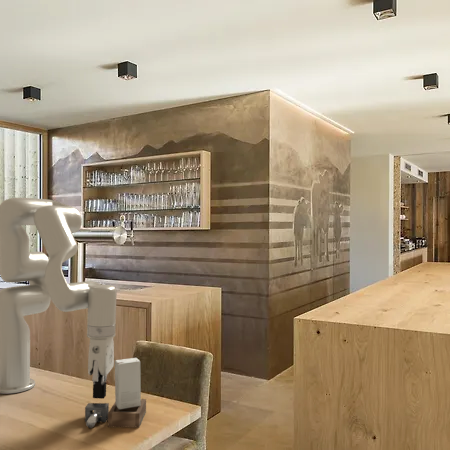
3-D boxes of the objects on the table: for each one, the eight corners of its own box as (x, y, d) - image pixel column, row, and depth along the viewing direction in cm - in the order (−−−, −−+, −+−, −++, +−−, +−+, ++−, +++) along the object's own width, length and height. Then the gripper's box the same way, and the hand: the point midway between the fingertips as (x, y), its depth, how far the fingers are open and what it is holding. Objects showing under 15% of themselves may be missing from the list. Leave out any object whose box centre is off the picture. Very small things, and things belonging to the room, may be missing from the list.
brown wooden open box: (107, 427, 121) (107, 413, 121) (116, 411, 131) (117, 399, 131) (139, 427, 121) (139, 413, 121) (145, 412, 131) (146, 399, 131)
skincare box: (136, 401, 130) (137, 356, 130) (141, 407, 125) (141, 360, 126) (114, 404, 127) (114, 359, 127) (117, 410, 123) (118, 363, 123)
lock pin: (84, 429, 120) (84, 417, 120) (94, 414, 129) (94, 404, 129) (96, 429, 120) (96, 417, 120) (105, 414, 129) (105, 404, 129)
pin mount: (85, 422, 124) (85, 407, 124) (88, 417, 127) (88, 403, 127) (105, 422, 124) (105, 407, 124) (108, 417, 127) (108, 403, 127)
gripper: (108, 337, 123) (106, 408, 123) (121, 325, 138) (119, 388, 138) (79, 336, 123) (77, 407, 123) (95, 324, 138) (93, 387, 138)
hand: (99, 397), depth 131 cm, fingers closed
